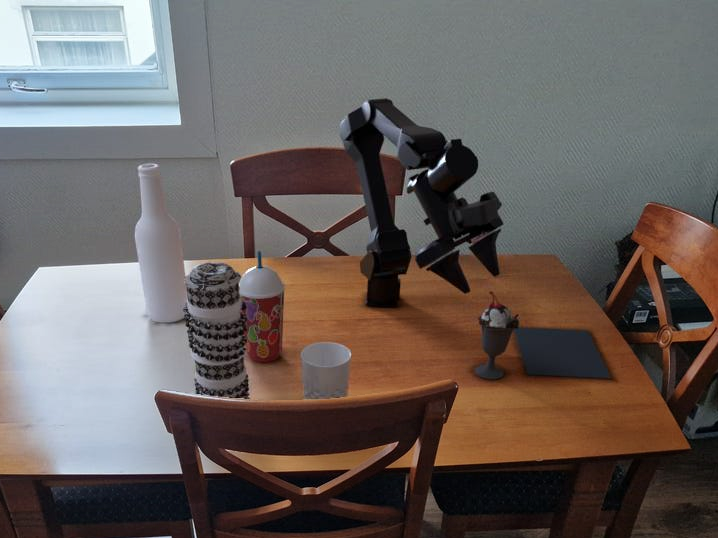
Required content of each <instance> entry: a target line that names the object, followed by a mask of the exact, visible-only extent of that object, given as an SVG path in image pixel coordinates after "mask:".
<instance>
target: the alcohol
mask: <svg viewBox="0 0 718 538" xmlns="http://www.w3.org/2000/svg"><path fill="white" fill-rule="evenodd" d="M160 167H161V166H159V165H158V164H156V163H144V164H140V165H138V167H137V171H138V175H137V176H138V177H139V187H140V189H139V190H140V201H141V204H140V205H141V214H140V218H139V220H138V221H137V223H136V225H135V228H134V241H135V246H136V253H137V254H136V255H137V260H138V266H139V272H140V278H141V286H142V291H143V299H144V303H145V310H146V315H147V316H148V317H149V319H151V320H152V321H153V322H157V323H160V324H161V323H162V324H168V323H176V322H178V321H181V320H183V319H185V317H184V314H185V313H184V312H183V308H184V307H186V302H187V298H188V296H187V288H186V285H185V282H184V279H185V277H186V270H185V269H186V267H185V261H184V254H183V253H184V251H183V244H182V234H181V229H180V227H179V224H178V223H177V221H176V219H174V218H173V217H172V216H171V215H170V214H169V211H168V209H167V205H166V204H167V203H166V199H165V194H164V189H163V183H162V180H161V172H160Z"/></svg>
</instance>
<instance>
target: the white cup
mask: <svg viewBox="0 0 718 538" xmlns="http://www.w3.org/2000/svg"><path fill="white" fill-rule="evenodd" d="M351 364H352V351H351V350H350V348H348V347H347V346H346V345H343V344H341V343H338V342H333V341H332V342H331V341H319V342H314V343H310V344H309V345H306V346H305V347H304V348H303V349H302V350H301V351H300V365H301V382H302V391H303V400H304V399H330V398H340V397H347V398H348V395H349V388H350V387H349V386H350V379H351V377H350V376H351V368H352V367H351Z"/></svg>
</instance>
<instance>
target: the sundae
mask: <svg viewBox="0 0 718 538" xmlns="http://www.w3.org/2000/svg"><path fill="white" fill-rule="evenodd" d="M488 294H489V295H491V296H492V298H493V299H492V302H490V303H488V308H487V309H485V310H484V311H483V313H482V314H481V315H480V316H478V318H477V320H478V324H479V325H480V326H481V341H480V342H481V349H482V351H483V352H484V353H485V354H486V355H487V356H488V357H487V362H486V364H480V365H478V366H476V367H475V368H474V373H475V374H476V375H477V376H478V377H479V378H482V379H484V380H491V381H493V380H500V379H501V378H503V377H504V376H505V372H504V371H503V369H502V368H500V367H499V366H496V365H495V361H496V358H497V357H498V356H501V355H502V354H504V353H505V351H507V350H506V349H507V348H508V345H509V343H510V339H511V337H512V334H513V332H514V329H518V327H520V320H519V319H518V317H519V313H517V314H515V316H513V315H512V314H511V313H512V310H510V308H509V307H507V306H506V305H504V304H502V303H501V302H499V301H498V299H497V296H496V295H495V294H494V291H490V290H489V291H488ZM495 301H496V303H495Z"/></svg>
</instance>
